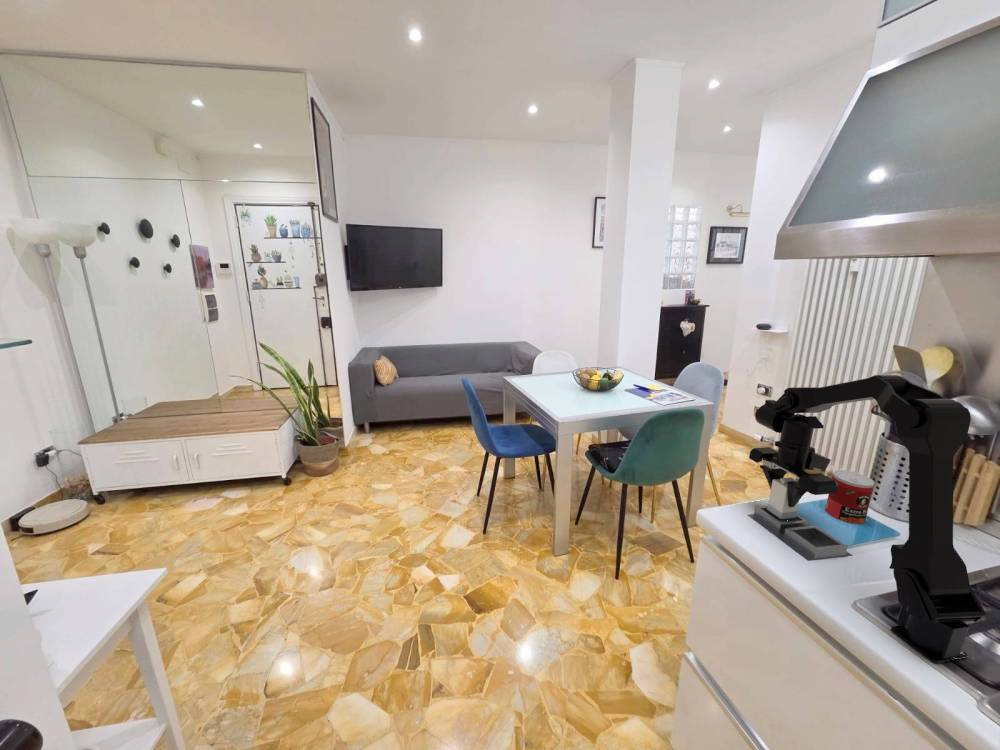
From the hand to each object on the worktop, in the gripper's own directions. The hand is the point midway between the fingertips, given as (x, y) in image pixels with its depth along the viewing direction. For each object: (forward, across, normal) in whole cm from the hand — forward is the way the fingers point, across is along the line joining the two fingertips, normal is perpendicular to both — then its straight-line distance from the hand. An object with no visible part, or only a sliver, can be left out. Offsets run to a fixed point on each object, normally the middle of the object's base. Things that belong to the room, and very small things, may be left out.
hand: (783, 501), depth 97 cm
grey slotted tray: (+6, -5, 0) cm, 8 cm away
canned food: (+6, 0, -19) cm, 20 cm away
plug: (+3, 0, 0) cm, 3 cm away
